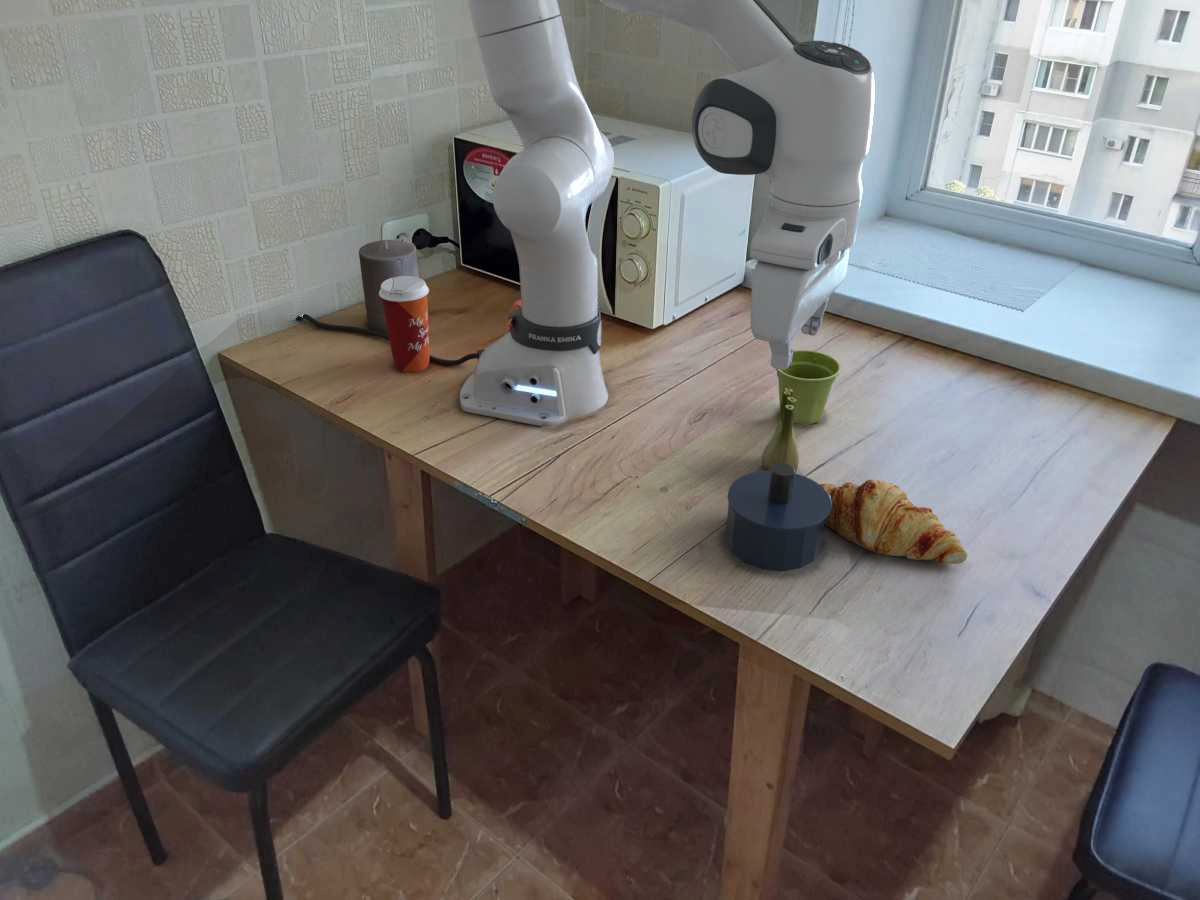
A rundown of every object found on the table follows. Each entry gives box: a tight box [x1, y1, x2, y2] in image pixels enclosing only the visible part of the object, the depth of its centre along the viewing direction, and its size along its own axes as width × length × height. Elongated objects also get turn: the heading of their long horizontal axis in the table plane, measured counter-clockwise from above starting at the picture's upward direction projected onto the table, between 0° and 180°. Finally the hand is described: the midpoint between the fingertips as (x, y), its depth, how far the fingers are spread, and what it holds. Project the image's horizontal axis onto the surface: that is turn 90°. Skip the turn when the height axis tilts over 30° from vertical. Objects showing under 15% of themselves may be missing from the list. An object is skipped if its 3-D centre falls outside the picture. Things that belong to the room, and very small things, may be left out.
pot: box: [724, 503, 825, 572], centre depth 114 cm, size 11×11×6 cm
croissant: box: [818, 479, 968, 565], centre depth 116 cm, size 21×10×8 cm, turn 53°
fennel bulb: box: [760, 388, 800, 474], centre depth 126 cm, size 6×5×12 cm
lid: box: [727, 464, 832, 532], centre depth 112 cm, size 12×12×5 cm
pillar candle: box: [358, 239, 420, 335], centre depth 166 cm, size 10×10×15 cm
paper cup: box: [379, 276, 430, 374], centre depth 152 cm, size 8×8×14 cm
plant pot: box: [774, 349, 842, 425], centre depth 140 cm, size 9×9×9 cm
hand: (796, 348), depth 102 cm, fingers open, 8 cm apart
